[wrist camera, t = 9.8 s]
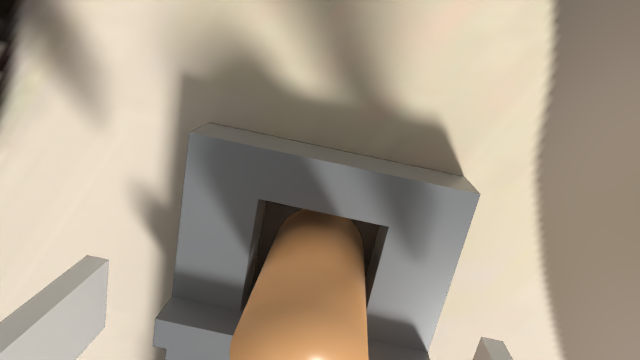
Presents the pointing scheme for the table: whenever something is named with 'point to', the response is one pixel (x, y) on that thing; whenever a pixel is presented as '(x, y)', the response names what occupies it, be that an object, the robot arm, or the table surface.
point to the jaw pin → (307, 295)
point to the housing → (322, 196)
